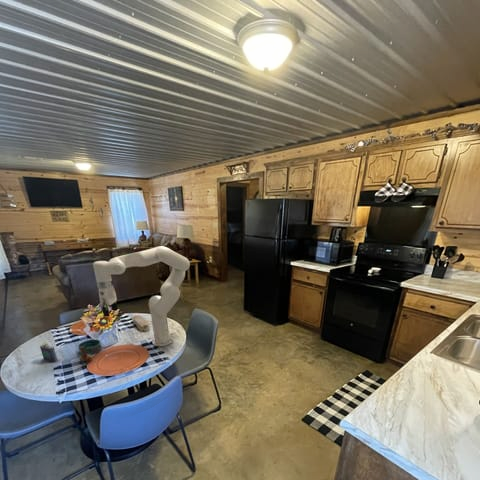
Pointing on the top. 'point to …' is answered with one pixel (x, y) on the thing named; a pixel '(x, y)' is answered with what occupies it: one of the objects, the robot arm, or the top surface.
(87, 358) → the brush
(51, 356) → the flask
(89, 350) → the bowl
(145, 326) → the shoe brush
